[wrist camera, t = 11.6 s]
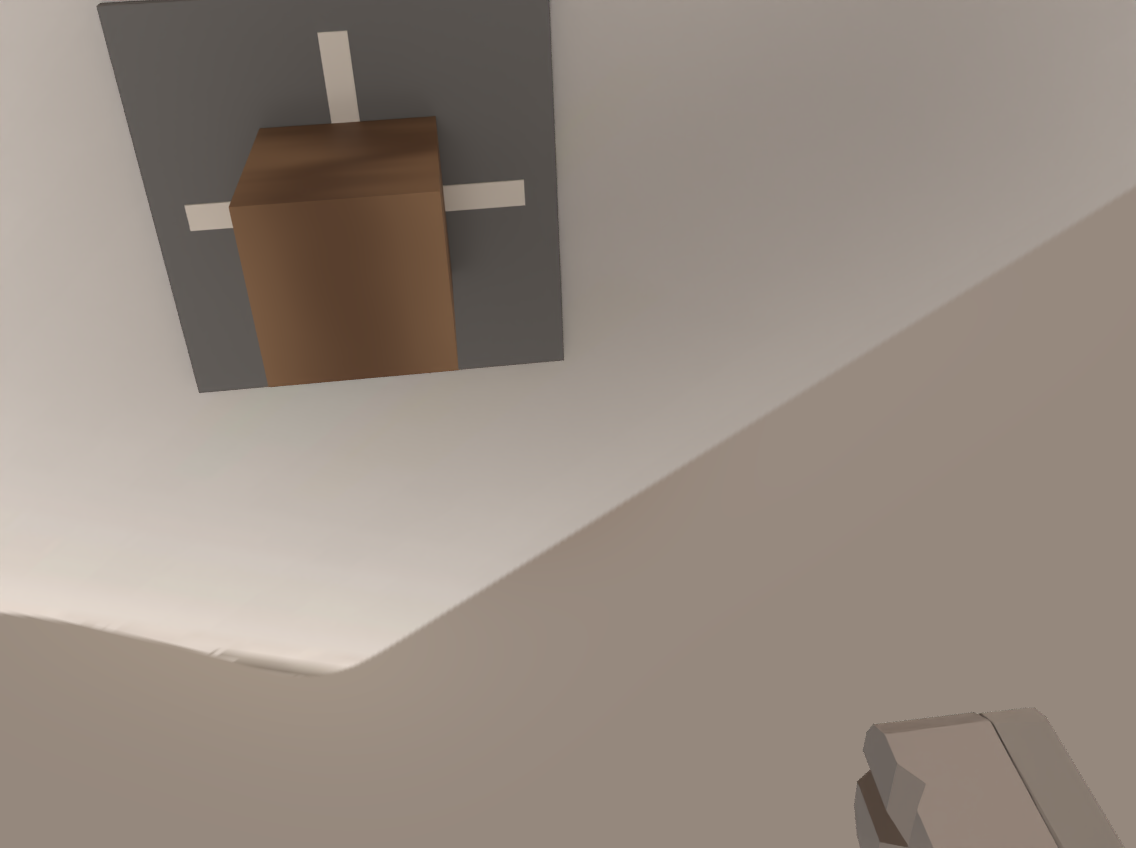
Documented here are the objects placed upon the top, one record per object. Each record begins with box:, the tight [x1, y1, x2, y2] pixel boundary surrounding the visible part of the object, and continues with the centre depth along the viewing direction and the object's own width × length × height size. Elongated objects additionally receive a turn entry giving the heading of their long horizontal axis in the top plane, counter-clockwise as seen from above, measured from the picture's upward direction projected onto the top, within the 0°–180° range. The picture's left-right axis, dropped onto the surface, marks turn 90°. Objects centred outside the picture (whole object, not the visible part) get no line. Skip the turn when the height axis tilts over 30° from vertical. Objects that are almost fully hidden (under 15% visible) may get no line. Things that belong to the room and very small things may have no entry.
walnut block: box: [229, 116, 459, 387], centre depth 29 cm, size 5×5×6 cm
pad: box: [97, 0, 564, 393], centre depth 32 cm, size 12×12×1 cm
